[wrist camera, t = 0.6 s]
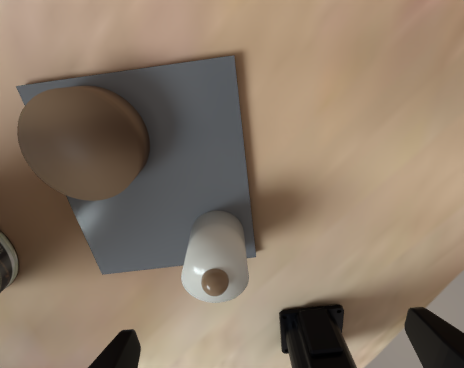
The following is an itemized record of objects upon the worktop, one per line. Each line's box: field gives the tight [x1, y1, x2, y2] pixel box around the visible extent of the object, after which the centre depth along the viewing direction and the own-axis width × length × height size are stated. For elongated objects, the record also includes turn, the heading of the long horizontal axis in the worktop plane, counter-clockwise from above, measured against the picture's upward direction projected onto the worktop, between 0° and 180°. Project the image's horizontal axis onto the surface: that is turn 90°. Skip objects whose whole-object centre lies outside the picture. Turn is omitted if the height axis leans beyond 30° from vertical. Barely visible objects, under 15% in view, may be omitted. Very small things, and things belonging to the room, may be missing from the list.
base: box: [17, 86, 150, 201], centre depth 16 cm, size 7×7×2 cm
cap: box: [181, 211, 249, 303], centre depth 18 cm, size 4×4×6 cm
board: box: [16, 55, 256, 275], centre depth 19 cm, size 16×14×1 cm
